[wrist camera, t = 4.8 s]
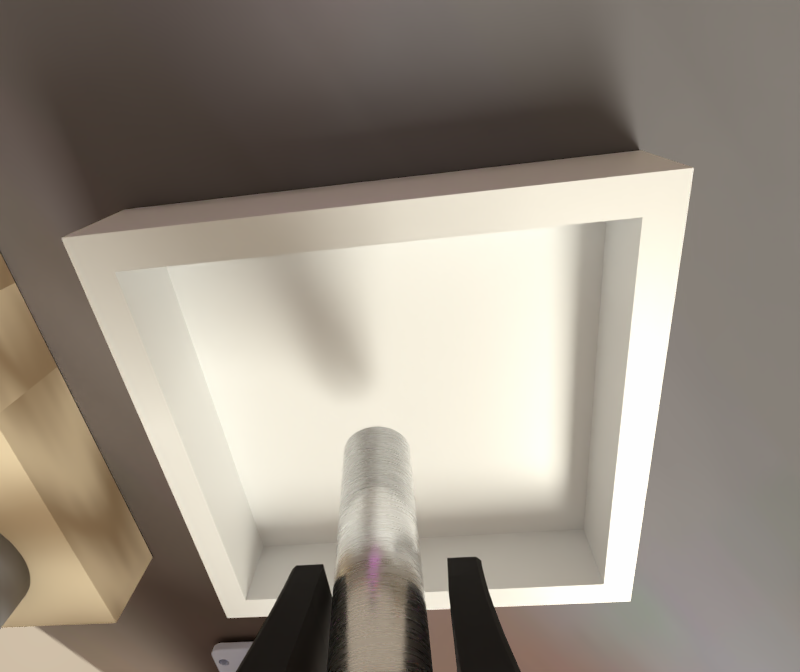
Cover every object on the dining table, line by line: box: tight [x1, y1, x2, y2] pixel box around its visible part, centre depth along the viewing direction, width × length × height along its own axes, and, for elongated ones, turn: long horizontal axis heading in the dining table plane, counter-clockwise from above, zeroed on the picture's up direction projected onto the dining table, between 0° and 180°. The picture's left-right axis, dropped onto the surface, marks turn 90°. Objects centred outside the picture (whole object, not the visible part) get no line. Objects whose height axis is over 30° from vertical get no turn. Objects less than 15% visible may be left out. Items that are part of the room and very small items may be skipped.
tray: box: [61, 150, 694, 618], centre depth 16 cm, size 15×15×3 cm
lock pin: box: [327, 426, 433, 672], centre depth 11 cm, size 3×3×8 cm
